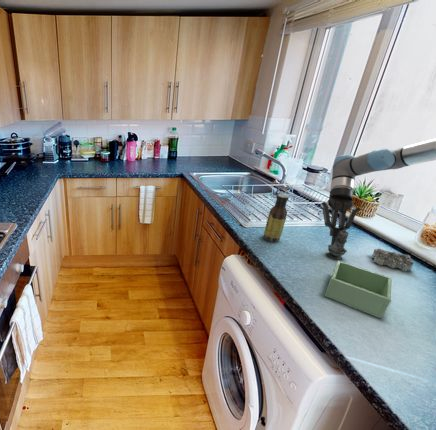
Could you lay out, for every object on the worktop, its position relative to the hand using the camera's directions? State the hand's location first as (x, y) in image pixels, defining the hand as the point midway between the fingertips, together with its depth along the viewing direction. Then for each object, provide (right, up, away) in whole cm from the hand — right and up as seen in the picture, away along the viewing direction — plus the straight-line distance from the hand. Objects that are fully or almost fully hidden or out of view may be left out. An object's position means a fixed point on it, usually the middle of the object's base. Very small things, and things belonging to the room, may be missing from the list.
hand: (335, 244), depth 111 cm
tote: (-11, -14, -22) cm, 28 cm away
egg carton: (+17, -7, -5) cm, 19 cm away
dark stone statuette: (-2, -5, -1) cm, 5 cm away
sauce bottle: (-20, +1, +10) cm, 22 cm away
